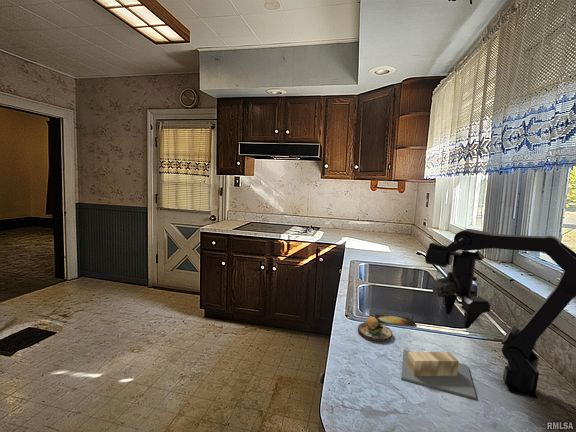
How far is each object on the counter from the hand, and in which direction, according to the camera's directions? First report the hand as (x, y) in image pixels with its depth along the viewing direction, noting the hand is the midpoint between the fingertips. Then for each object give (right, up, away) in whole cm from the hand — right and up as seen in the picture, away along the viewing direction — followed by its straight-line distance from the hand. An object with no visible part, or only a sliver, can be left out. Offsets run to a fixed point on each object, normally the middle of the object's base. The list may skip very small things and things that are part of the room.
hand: (456, 320), depth 94 cm
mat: (-9, -13, -5) cm, 17 cm away
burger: (-20, -10, +16) cm, 28 cm away
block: (-4, -11, -5) cm, 12 cm away
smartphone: (-10, -10, +27) cm, 30 cm away
